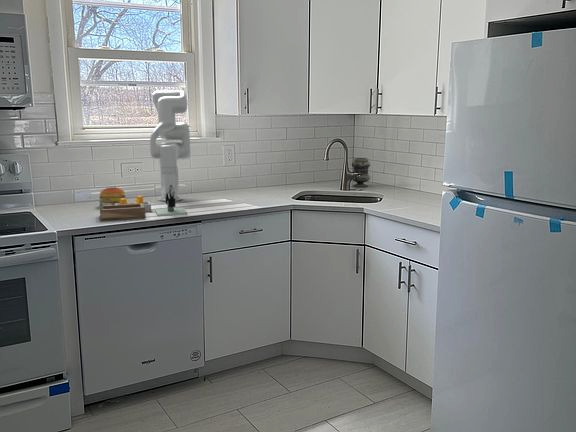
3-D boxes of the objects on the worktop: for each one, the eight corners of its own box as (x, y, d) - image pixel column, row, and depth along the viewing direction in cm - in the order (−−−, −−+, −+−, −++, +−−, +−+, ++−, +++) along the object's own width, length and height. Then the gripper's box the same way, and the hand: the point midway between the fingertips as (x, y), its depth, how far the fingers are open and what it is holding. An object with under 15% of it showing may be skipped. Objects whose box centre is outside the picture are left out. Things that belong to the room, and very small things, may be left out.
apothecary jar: (365, 188, 353) (366, 159, 350) (347, 186, 359) (348, 158, 356) (372, 185, 363) (373, 157, 360) (355, 184, 369) (356, 156, 366)
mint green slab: (155, 212, 281) (154, 199, 280) (183, 210, 286) (182, 198, 284) (157, 217, 270) (157, 204, 269) (187, 215, 275) (186, 202, 273)
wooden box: (100, 216, 271) (99, 199, 269) (143, 213, 277) (142, 197, 276) (100, 220, 260) (99, 203, 258) (145, 217, 266) (144, 201, 265)
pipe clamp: (125, 212, 278) (124, 199, 276) (120, 211, 280) (119, 198, 279) (145, 209, 287) (145, 196, 285) (140, 208, 289) (139, 195, 288)
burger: (130, 204, 302) (129, 185, 300) (121, 209, 288) (119, 189, 286) (105, 204, 302) (104, 185, 300) (95, 208, 289) (94, 189, 287)
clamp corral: (115, 210, 285) (115, 203, 284) (149, 208, 290) (149, 201, 289) (116, 213, 277) (116, 206, 276) (151, 211, 282) (150, 204, 282)
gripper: (159, 169, 280) (160, 203, 284) (163, 172, 264) (165, 208, 267) (174, 168, 283) (175, 202, 286) (179, 172, 267) (181, 207, 270)
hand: (170, 205), depth 277 cm, fingers open, 9 cm apart
